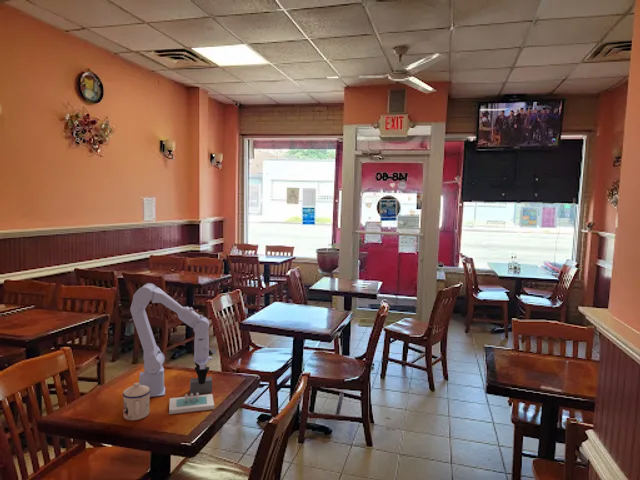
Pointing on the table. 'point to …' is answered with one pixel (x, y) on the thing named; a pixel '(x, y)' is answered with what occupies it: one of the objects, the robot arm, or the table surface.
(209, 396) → the pin board
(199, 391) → the block
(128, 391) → the teacup with lid
